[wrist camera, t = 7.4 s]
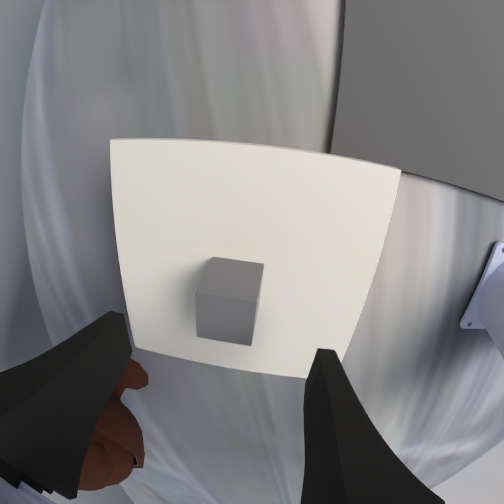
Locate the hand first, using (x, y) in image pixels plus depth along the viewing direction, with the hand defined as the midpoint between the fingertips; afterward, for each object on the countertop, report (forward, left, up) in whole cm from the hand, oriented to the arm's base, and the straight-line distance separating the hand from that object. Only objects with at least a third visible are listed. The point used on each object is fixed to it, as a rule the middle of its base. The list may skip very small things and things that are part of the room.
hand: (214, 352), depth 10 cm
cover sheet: (0, 0, -5) cm, 5 cm away
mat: (-12, -14, -10) cm, 21 cm away
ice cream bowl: (+12, +17, -10) cm, 23 cm away
